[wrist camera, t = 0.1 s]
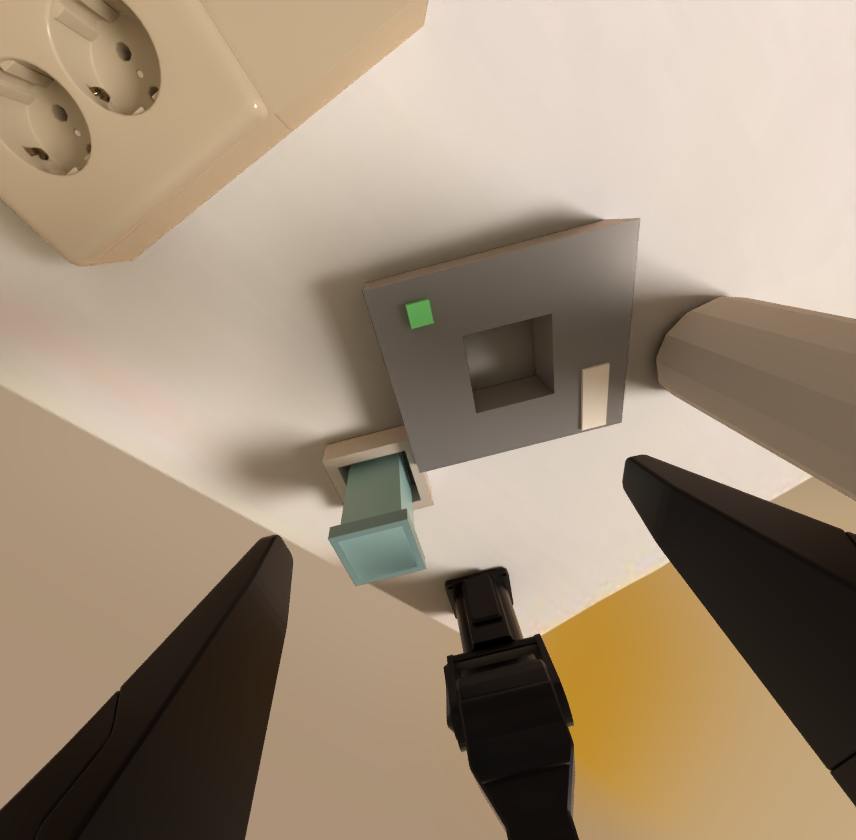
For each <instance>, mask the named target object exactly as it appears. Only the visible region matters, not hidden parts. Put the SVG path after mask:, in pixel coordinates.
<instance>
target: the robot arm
mask: <svg viewBox="0 0 856 840" xmlns="http://www.w3.org/2000/svg"><path fill="white" fill-rule="evenodd" d="M622 484H623V488H624V490H625V492H626V494H627V496H628V497H629V499H630V501H631V502H632V504H633V505H634V507H635V509H636V510H637V512H638V514H639V515H640V517H641V519H642V520H643V522H644V523H645V525H646V527H647V528H648V530H649V532H650V533H651V535H652V536H653V538H654V540H655V541H656V543H657V544H658V546H659V547H660V548H661V550H662V551H663V552H664V554H665V555H666V556H667V558H668V559H669V560H670V562H671V563H672V564H673V566H674V567H675V568H676V569H677V571H678V572H679V573H680V575H681V576H682V577H683V579H684V580H685V581H686V583H687V584H688V585H689V587H690V588H691V589H692V590H693V592H694V593H695V595H696V596H697V597H698V598H699V600H700V601H701V603H702V604H703V605H704V606H705V608H706V609H707V610H708V612H709V613H710V614H711V616H712V617H713V618H714V620H715V621H716V622H717V624H718V625H719V626H720V628H721V629H722V630H723V632H724V633H725V634H726V636H727V637H728V638H729V639H730V641H731V642H732V643H733V645H734V646H735V647H736V649H737V650H738V651H739V653H740V654H741V655H742V657H743V658H744V659H745V661H746V662H747V663H748V664H749V666H750V667H751V669H752V670H753V671H754V673H755V674H756V675H757V676H758V678H759V679H760V680H761V682H762V683H763V684H764V686H765V687H766V688H767V690H768V691H769V692H770V694H771V695H772V696H773V698H774V699H775V700H776V702H777V703H778V704H779V706H780V707H781V708H782V710H783V711H784V712H785V713H786V715H787V716H788V717H789V719H790V720H791V721H792V723H793V724H794V725H795V727H796V728H797V729H798V731H799V732H800V733H801V735H802V736H803V737H804V739H805V740H806V741H807V743H808V744H809V745H810V746H811V748H812V749H813V750H814V752H815V753H816V754H817V756H818V757H819V758H820V760H821V761H822V762H823V764H824V765H825V766H826V768H827V769H829V770H831V771H830V773H831V775H832V776H833V777H834V779H835V780H836V781H837V783H838V784H839V785H840V787H841V788H842V789H843V791H844V792H845V793H846V794H847V796H848V797H849V798H850V800H851V801H852V802H853V804H854V805H855V806H856V534H853V533H850V532H844V531H843V530H842V529H840V528H837V527H834V526H832V525H829V524H826V523H824V522H821V521H819V520H816V519H813V518H811V517H808V516H806V515H803V514H800V513H798V512H795V511H792V510H790V509H787V508H785V507H782V506H779V505H777V504H773V503H771V502H769V501H766V500H763V499H761V498H758V497H756V496H753V495H750V494H748V493H745V492H742V491H740V490H737V489H735V488H732V487H729V486H727V485H724V484H721V483H719V482H716V481H713V480H711V479H708V478H706V477H703V476H700V475H698V474H695V473H692V472H690V471H687V470H685V469H682V468H679V467H677V466H674V465H671V464H669V463H666V462H664V461H661V460H658V459H656V458H653V457H650V456H648V455H637V456H633V457H629V458H627V460H626V461H625V467H624V474H623V480H622ZM292 569H293V558H292V555H291V553H290V551H289V549H288V548H287V546H286V545H285V543H284V541H283V540H282V538H281V537H280V536H279V535H271V536H267V537H263V538H261V539H260V540H259V541H257V543H256V544H255V545H254V546H253V547H252V548H251V549H250V550H249V551H248V552H247V553H246V554H245V555H244V556H243V557H242V559H241V560H240V561H239V562H238V563H237V564H236V565H235V566H234V567H233V568H232V569H231V570H230V571H229V572H228V574H227V575H226V576H225V577H224V578H223V579H222V580H221V581H220V582H219V583H218V584H217V585H216V586H215V587H214V588H213V589H212V591H211V592H210V593H209V594H208V595H207V596H206V597H205V598H204V599H203V600H202V601H201V602H200V603H199V604H198V605H197V606H196V608H195V609H194V610H193V611H192V612H191V613H190V614H189V615H188V616H187V617H186V618H185V619H184V620H183V621H182V622H181V624H180V625H179V626H178V627H177V628H176V629H175V630H174V631H173V632H172V633H171V634H170V635H169V636H168V637H167V638H166V640H165V641H164V642H163V643H162V644H161V645H160V646H159V647H158V648H157V649H156V650H155V651H154V652H153V653H152V654H151V655H150V656H149V658H148V659H147V660H146V661H145V662H144V663H143V664H142V665H141V666H140V667H139V668H138V669H137V670H136V672H135V673H134V674H133V675H132V676H131V677H130V678H129V679H128V680H127V681H126V682H125V683H124V684H123V685H122V686H121V688H120V691H117V692H116V693H115V694H114V695H113V696H112V697H111V698H110V699H109V700H108V701H107V702H106V703H105V704H104V705H103V706H102V707H101V709H100V710H99V711H98V712H97V713H96V714H95V715H94V716H93V717H92V718H91V719H90V720H89V721H88V723H86V724H85V725H84V726H83V727H82V728H81V729H80V730H79V732H78V733H77V734H76V735H75V736H74V737H73V738H72V739H71V740H70V741H69V742H68V743H67V744H66V745H65V746H64V747H63V748H62V750H60V751H59V752H58V753H57V754H56V755H55V756H54V757H53V758H52V759H51V760H50V761H49V762H48V763H47V764H46V765H45V766H44V767H43V768H42V769H41V770H40V771H39V772H38V773H37V774H36V775H35V776H34V777H33V778H32V779H31V780H30V781H29V782H28V783H27V784H26V785H25V786H24V787H23V788H22V789H21V790H20V791H19V792H18V793H17V794H16V795H15V796H14V797H13V798H12V799H11V800H10V801H9V802H8V803H7V804H6V805H5V806H4V807H3V808H2V809H1V810H0V840H245V836H246V831H247V825H248V820H249V815H250V811H251V806H252V800H253V795H254V790H255V785H256V781H257V775H258V770H259V765H260V760H261V755H262V750H263V745H264V740H265V735H266V730H267V724H268V720H269V715H270V710H271V704H272V700H273V695H274V689H275V684H276V679H277V674H278V669H279V664H280V659H281V654H282V649H283V644H284V638H285V634H286V628H287V621H288V612H289V601H290V590H291V580H292ZM445 588H446V591H447V594H448V597H449V600H450V603H451V606H452V609H453V612H454V615H455V618H456V619H458V625H459V630H460V636H461V641H462V647H463V652H464V653H463V654H458V655H454V656H453V655H449V656H447V662H448V664H447V665H446V666H445V667H444V674H445V681H446V696H447V698H446V700H447V701H446V703H447V725H448V727H449V728H450V729H451V730H452V731H453V732H454V733H455V736H456V739H457V740H458V744H459V747H460V750H461V752H464V751H467V754H468V761H469V766H470V769H471V771H472V773H473V775H474V777H475V779H476V781H477V783H478V785H479V787H480V789H481V792H482V793H483V795H484V797H485V798H486V800H487V802H488V803H489V805H490V806H491V808H492V810H493V811H494V813H495V814H496V816H497V818H498V820H499V821H500V823H501V825H502V826H503V828H504V829H505V831H506V833H507V837H508V840H579V838H578V835H577V832H576V828H575V825H574V822H573V801H574V782H575V761H574V744H573V741H572V737H571V734H570V732H569V729H568V727H570V726H573V725H574V724H573V719H572V714H571V711H570V707H569V704H568V701H567V698H566V695H565V693H564V690H563V687H562V684H561V682H560V679H559V677H558V675H557V672H556V670H555V668H554V665H553V663H552V661H551V658H550V656H549V654H548V652H547V649H546V647H545V645H544V642H543V640H542V638H541V635H540V634H536V635H534V636H533V637H529V638H525V639H523V636H522V633H521V630H520V627H519V624H518V621H517V618H516V615H515V612H514V609H513V598H512V592H511V586H510V580H509V574H508V571H507V569H506V568H501V569H497V570H493V571H489V572H485V573H481V574H477V575H473V576H469V577H464V578H460V579H456V580H452V581H448V582H446V583H445Z"/></svg>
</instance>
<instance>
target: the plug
mask: <svg viewBox="0 0 856 840" xmlns="http://www.w3.org/2000/svg"><path fill="white" fill-rule="evenodd" d="M328 540H329V541H330V543H331V545H332V546H333V548H334V550H335V552H336V553H337V555H338V557H339V559H340V560H341V562H342V564H343V565H344V567H345V569H346V571H347V572H348V574H349V576H350V577H351V579H352V581H353V583H354V584H355V586H358V585H362V584H366V583H371V582H375V581H379V580H383V579H387V578H391V577H395V576H399V575H403V574H407V573H411V572H416V571H420V570H424V569H426V563H425V557H424V554H423V551H422V548H421V546H420V543H419V540H418V537H417V535H416V532H415V527H414V516H413V506H412V495H411V484H410V477H409V474H408V471H407V468H406V466H405V463H404V460H403V457H402V454H401V452H398V453H394V454H390V455H386V456H382V457H378V458H374V459H370V460H366V461H362V462H358V463H354V464H350V468H349V474H348V481H347V487H346V494H345V500H344V506H343V513H342V519H341V525H337V526H333V527H330V531H329V537H328Z"/></svg>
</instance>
